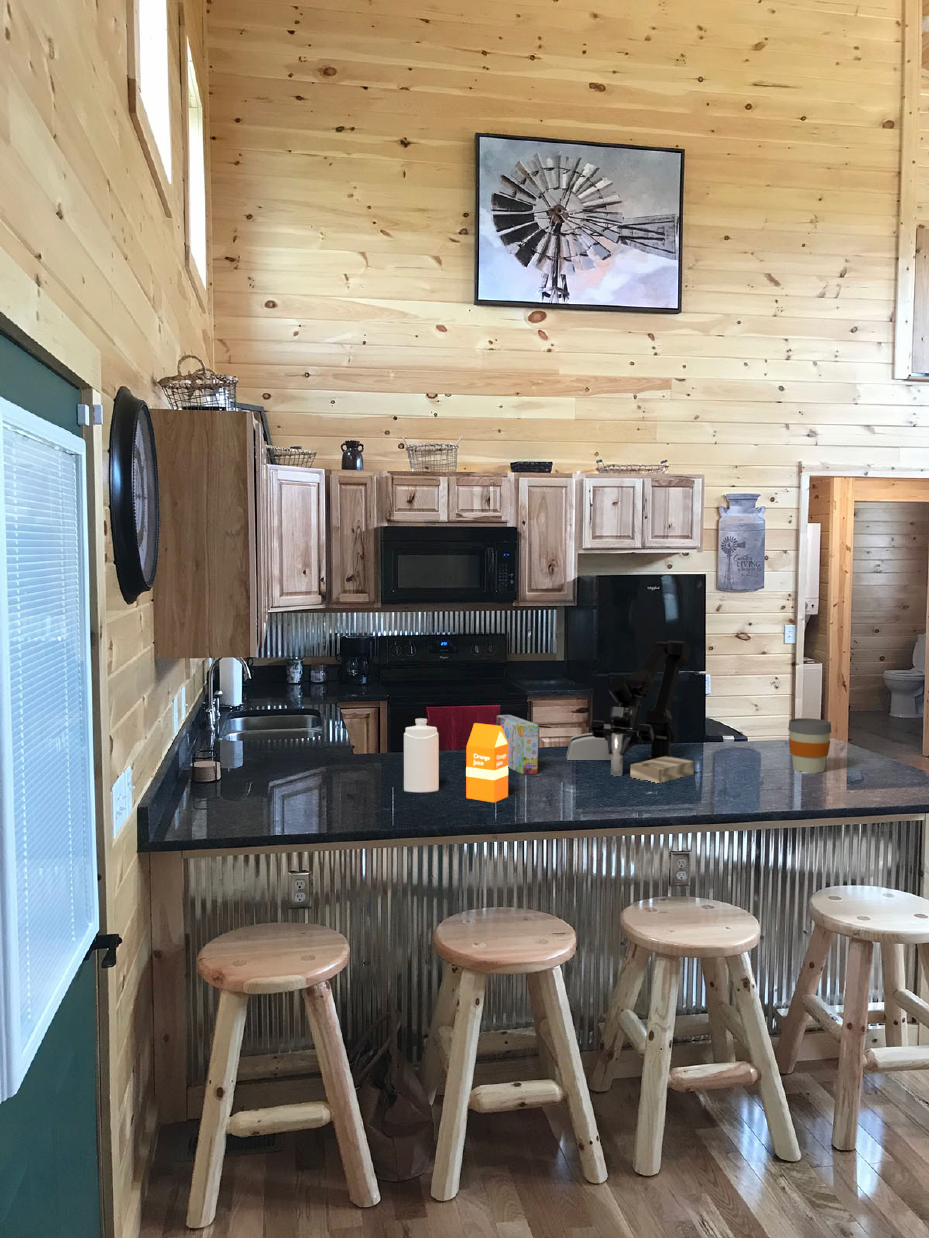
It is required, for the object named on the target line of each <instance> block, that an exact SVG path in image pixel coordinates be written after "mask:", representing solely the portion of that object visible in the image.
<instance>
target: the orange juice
mask: <svg viewBox="0 0 929 1238" xmlns="http://www.w3.org/2000/svg"><path fill="white" fill-rule="evenodd" d="M465 766H466V768H465V777H466V786H465V787H466V788H465V789H466V791H465V792H466V793H465V794H466V799H472V800H477V801H483V802H488V803H489V802H490V803H497V802H499V801H501V800H503V799H505V798H508V797H509V768H508V742H507V739H506V737H505V734H504V732H503V729H502V726H497V725H496V724H488V723H487V724H486V723H479V722H474V723H473V725H472V730H471V732H470V736H469V737H468V741H467V744H466V765H465Z"/></svg>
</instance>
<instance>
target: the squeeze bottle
mask: <svg viewBox="0 0 929 1238" xmlns="http://www.w3.org/2000/svg"><path fill="white" fill-rule="evenodd" d="M414 723H415V725H412V726H406V727H405V728H404V729H405V732H404V733H403V791H404V792H409V793H432V792H433V793H434V792H438V791H439V789H440V787H439V781H440V780H439V775H440V774H439V769H440V768H439V757H440V755H439V752H440V751H439V750H440V749H439V741H440V740H439V736H440V735H439V732H438V728H437V727H436V726H430V725H427V723H428V719H427V718H421V717H419V718H415V722H414Z"/></svg>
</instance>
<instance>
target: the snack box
mask: <svg viewBox="0 0 929 1238" xmlns="http://www.w3.org/2000/svg"><path fill="white" fill-rule="evenodd" d="M495 721H496V722H495V725H497V726H502V729H503V732H504V734H505V737H506V739H507V742H508V767H509V768H508V769H510V770H513V771H515V772H517V773H519V774H520V775H537V774H538V761H539V760H538V758H539V757H538V756H539V733H540V732H539V731H540V729H539V727H540V725H539V724H537V723H534V722H531V721H528V720H526V719H524V718H520V717H518V716H514V715H512V714H502V715H501V714H499V715H496V719H495Z"/></svg>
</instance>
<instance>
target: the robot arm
mask: <svg viewBox="0 0 929 1238" xmlns="http://www.w3.org/2000/svg"><path fill="white" fill-rule="evenodd" d="M691 652H692V647H691V646H690V645H689V643H688V642H687V641H678V640H668V641H657V642H655V643H654V645H653V649H652V650H651V652H650V654H649V655H648V656H647V658H646V659H645V661H644V663H643V664H642V665H641V666H640V669H639V670H637V671H636V672H633V673H632V674H631V675H630V676H628V678H626V677H625V675H624V674H618V675H617V677H615V678H613V679H611V680H610V681H608V682H607V685H606V689H607V691H608V692H609V693H610V695H611V696H612V698H613V699H614V701H615V702H616V703H619V704H618V706H611V707H610V712H609V713H610V714H609V718H611V720H610V721H611V722H610V723H611V724H606V722H605V721H604V720H595V719H594V720H592V721H590V725H589V728H590V731H591V732H590V733H592V734H593V737H595V738H605V740H606V741H607V742H608V752H609V754H611V734H612V733H622V734H623V736H624V735H625V739H624V741H623V747H622V751H621V755H622V756H623V757H624V755H625V754H626V753H627V752H628V751H630V750H631V748H633V747H634V745H636V744H640V740H641V741H642V743H651V745H650V749H651V750H650V755H648V756H647V759H650V760H652V759H656V758H660V757H664V756H668V757H674V758H676V757H675V756H673V755H672V754H671V753H672V751H671V748H672V747H671V746H672V742H675V741H677V738H678V733H677V731H676V729H675V727H674V726H673V723H674V721H673V720H674V719H673V716H672V713H671V709H672V704H673V701H674V696H675V692H676V688H677V683H678V681H679V675H680V672H681V669H682V668H683V667H684V666H685V665H686V664H687V663H688V660H689V658H690V655H691V654H692V653H691ZM663 664H664V669H663V672H662V673H663V674H662V677H661V681H660V686H659V690H658V694H657V696H656V697H657V698H656V701H655V705H654V707H653V709H649V710H647V712H646V717H645V719H644V723H643V724H642V723H639V724H637V727H636V728H634V724H636V717H637V716H636V715H637V712H638V710H639V709H642V705H641V703H640V699H639V697H640V698H647V697H648V696H649V695H650V693H651V691H652V689H653V687H654V686H653V679H654V678H655V676H656V674H657V673H658V672H659V670H660V669H661V667H662V665H663Z"/></svg>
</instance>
